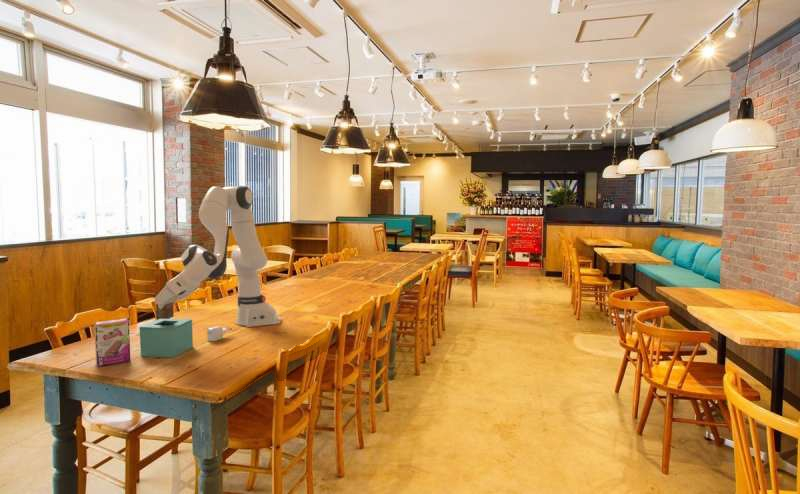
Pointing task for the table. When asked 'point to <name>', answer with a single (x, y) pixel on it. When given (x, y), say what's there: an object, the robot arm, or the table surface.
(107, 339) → the candy bar box
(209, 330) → the power adapter
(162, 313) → the walnut block
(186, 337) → the teal coin box
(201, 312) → the table surface
